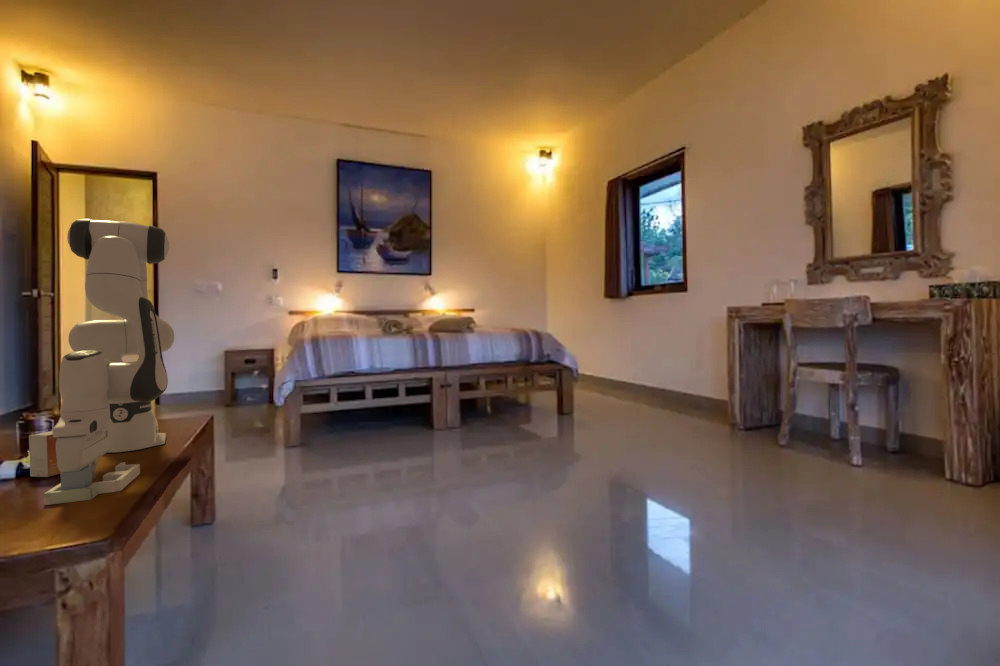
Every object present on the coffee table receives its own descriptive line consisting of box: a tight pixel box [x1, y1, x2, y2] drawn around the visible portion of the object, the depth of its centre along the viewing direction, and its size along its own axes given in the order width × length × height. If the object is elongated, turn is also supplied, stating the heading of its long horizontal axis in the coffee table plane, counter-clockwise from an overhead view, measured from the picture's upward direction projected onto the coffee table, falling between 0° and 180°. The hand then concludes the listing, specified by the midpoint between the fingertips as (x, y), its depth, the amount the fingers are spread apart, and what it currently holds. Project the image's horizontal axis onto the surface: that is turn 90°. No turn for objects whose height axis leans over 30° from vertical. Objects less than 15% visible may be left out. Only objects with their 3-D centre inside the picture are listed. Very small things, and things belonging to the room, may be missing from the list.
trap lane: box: [43, 461, 141, 506], centre depth 119 cm, size 22×12×2 cm, turn 20°
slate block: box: [59, 466, 92, 491], centre depth 112 cm, size 4×4×6 cm
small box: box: [28, 430, 62, 478], centre depth 130 cm, size 8×6×10 cm
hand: (88, 480), depth 118 cm, fingers closed
